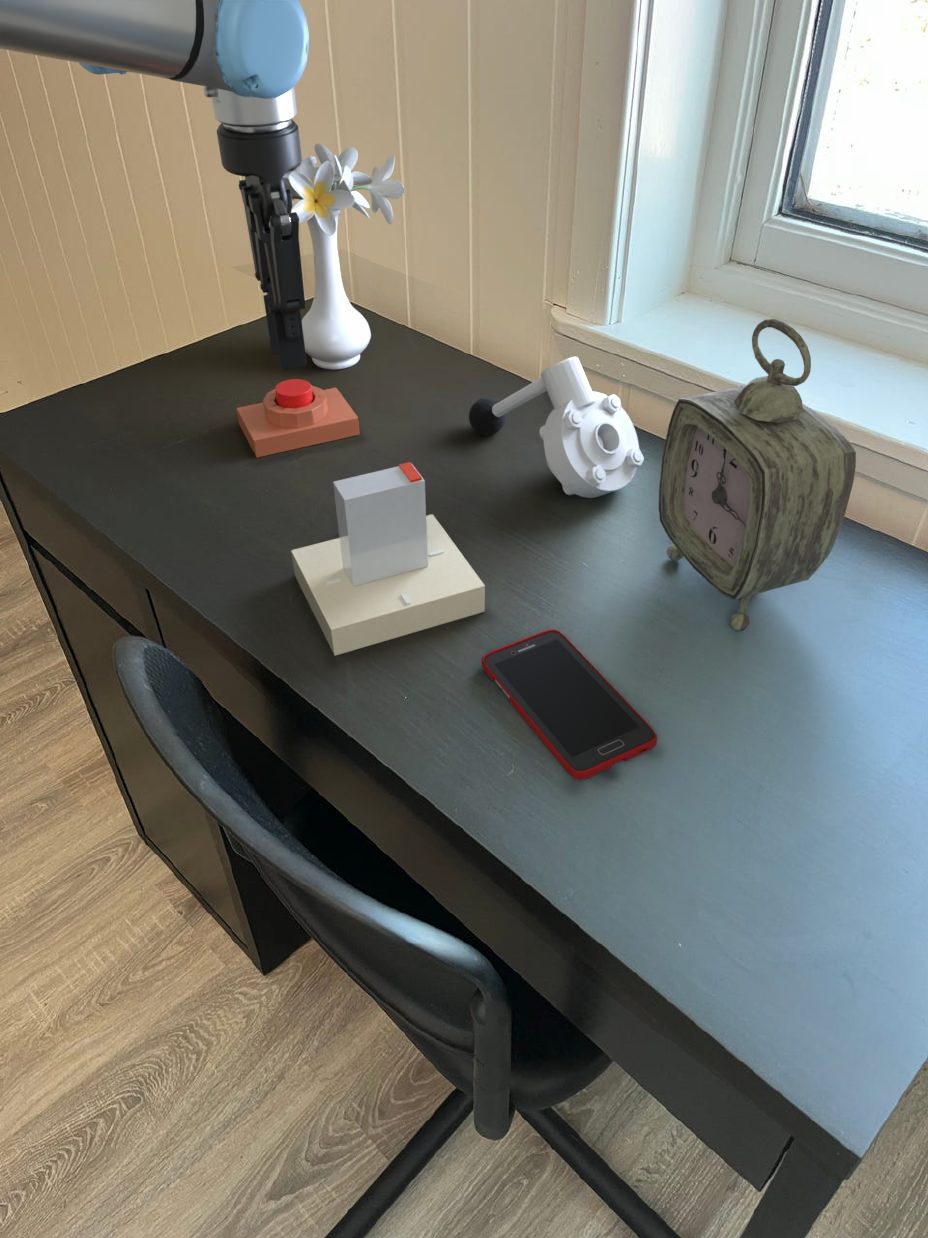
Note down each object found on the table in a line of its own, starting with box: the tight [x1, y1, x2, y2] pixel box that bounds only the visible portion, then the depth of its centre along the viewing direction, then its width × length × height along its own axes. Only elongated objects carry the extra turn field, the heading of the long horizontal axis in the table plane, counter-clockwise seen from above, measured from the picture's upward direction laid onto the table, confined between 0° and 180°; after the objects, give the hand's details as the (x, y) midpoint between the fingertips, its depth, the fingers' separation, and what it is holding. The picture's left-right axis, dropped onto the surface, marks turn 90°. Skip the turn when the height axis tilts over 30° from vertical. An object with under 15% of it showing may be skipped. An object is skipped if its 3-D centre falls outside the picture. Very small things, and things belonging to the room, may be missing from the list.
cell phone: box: [481, 628, 658, 781], centre depth 75 cm, size 8×15×1 cm, turn 29°
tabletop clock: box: [658, 318, 857, 632], centre depth 78 cm, size 14×9×25 cm, turn 21°
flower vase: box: [283, 143, 405, 370], centre depth 114 cm, size 13×18×25 cm
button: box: [274, 378, 313, 408], centre depth 106 cm, size 4×4×2 cm
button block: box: [236, 384, 361, 458], centre depth 107 cm, size 12×8×4 cm, turn 114°
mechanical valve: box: [468, 355, 645, 499], centre depth 101 cm, size 10×18×15 cm
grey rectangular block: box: [332, 461, 428, 586], centre depth 81 cm, size 7×3×9 cm, turn 114°
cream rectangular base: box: [290, 513, 486, 657], centre depth 85 cm, size 14×12×3 cm
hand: (289, 358), depth 103 cm, fingers open, 3 cm apart
